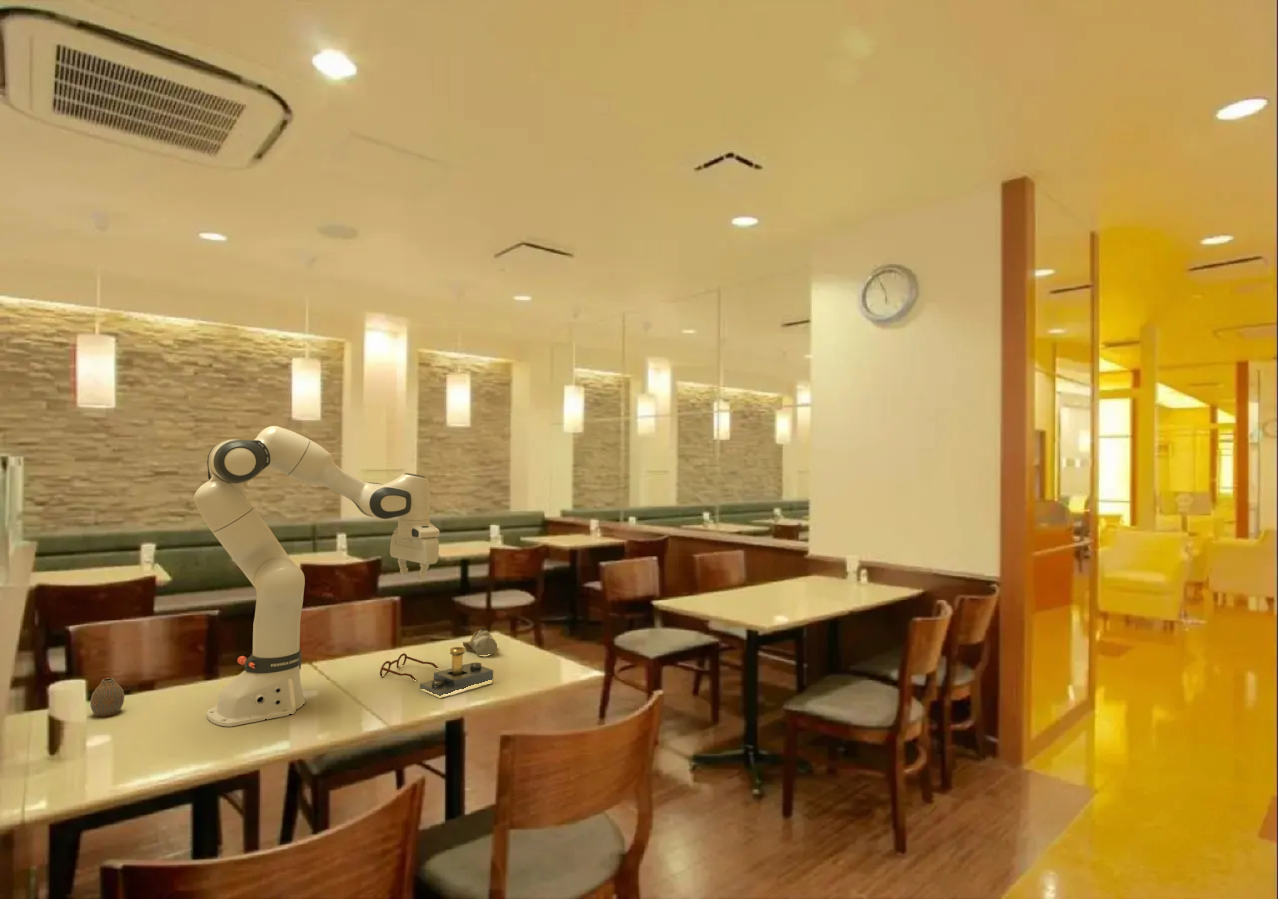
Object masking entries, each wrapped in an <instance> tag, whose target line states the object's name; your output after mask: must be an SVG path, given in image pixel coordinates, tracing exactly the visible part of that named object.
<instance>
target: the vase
mask: <svg viewBox="0 0 1278 899" xmlns="http://www.w3.org/2000/svg"><path fill="white" fill-rule="evenodd" d="M121 686H122V685H121ZM121 686H120V684H119V683H117V682H116V680H115V678H114V677H107V678H103V679H101V681H100V683H99V684H98V686H97V687H96V688H95V689H94V691H93V692H92V694H91V698H90V700H89V703H90V708H91V711H92V714H94V715H95V716H97V717H100V718H101V717H102V718H104V717H105V718H106V717H109V716H110V717H111V716H114V715H116V714H117V713H119V711H120V710H121V709H122V707H123V706H124V702H125V692H124V689H123V688H122V687H121Z"/></svg>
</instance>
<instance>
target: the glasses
mask: <svg viewBox="0 0 1278 899" xmlns="http://www.w3.org/2000/svg"><path fill="white" fill-rule="evenodd" d="M403 656H404V660H403V663H402V664H401V665H404V666H405V664H406V662H407V660H410V661H413V662H416V663H419V664H422V665H431V666H432V667H434V668H435V669H436V668H439V666H437V665H436V664H435V663H434V662H430V661H423V660H420V659H417V658H413V657H410V656H408V655H407V654H406V653H405V652H404V653H402V654H400V655H399V656H398V658H397V659H395V660H393V661H390V660H386V661H384V662H383V664H382V665H381V667H380V671H379V676H380V677H381V676H382V675H383V671H385V673H384V674H387V673H389V674H393V675H396V676H399V677H402V676H404V677H405V676H406V677H410V678H411V679H412V680H413V679H414V680H417V679H416V678H415V676H414V675H413V674H411V673H400V672H398V671H395V670H392V669H391V667H392V665H393V664H395V663H396V668H397V669H398V667H400V666H399V664H400V660H401V658H402V657H403ZM387 664H388V667H387V668H386V667H385V666H386V665H387ZM387 675H388V674H387ZM414 680H413V681H414Z"/></svg>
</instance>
